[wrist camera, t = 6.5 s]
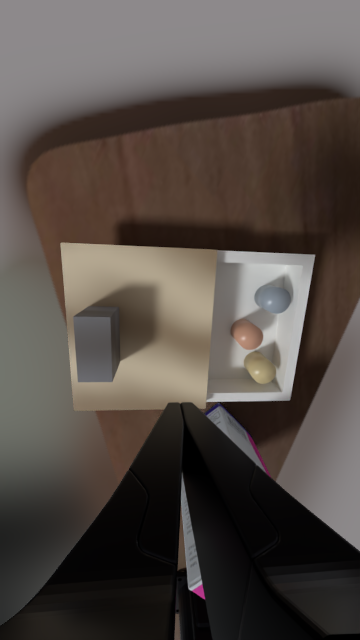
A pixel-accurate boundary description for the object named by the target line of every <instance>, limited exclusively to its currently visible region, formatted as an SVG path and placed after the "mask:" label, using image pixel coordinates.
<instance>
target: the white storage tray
mask: <svg viewBox="0 0 360 640" xmlns="http://www.w3.org/2000/svg"><path fill="white" fill-rule="evenodd" d="M314 259H315V255H309V254H287V253H265V252H242V251H220V250H217V263H216V277H215V290H214V304H213V317H212V330H211V344H210V357H209V370H208V384H207V397H206V402H231V401H290V398H291V392H292V387H293V381H294V375H295V369H296V363H297V358H298V352H299V346H300V340H301V334H302V329H303V323H304V317H305V311H306V305H307V300H308V294H309V288H310V282H311V276H312V271H313V265H314Z"/></svg>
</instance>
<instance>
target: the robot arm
mask: <svg viewBox="0 0 360 640" xmlns="http://www.w3.org/2000/svg"><path fill="white" fill-rule="evenodd" d="M182 474H183V481H184V486H185V492H186V497H187V503H188V508H189V514H190V519H191V525H192V530H193V536H194V541H195V546H196V552H197V557H198V563H199V568H200V574H201V579H202V585H203V590H204V596H205V599H203V598H202V597H200V596H199V595H197V594H196V593H194V592H193V591H191V590H189V588H188V579H187V572H179V573H177V569H178V549H179V528H180V508H181V487H182ZM175 613H176V614H179V621H180V639H181V640H360V551H359V550H358V549H356V548H355V547H354V546H353V545H351V544H350V543H349V542H348V541H346V540H345V539H344V538H342V537H341V536H340V535H339V534H337V533H336V532H335V531H334V530H333V529H332V528H330V527H329V526H328V525H327V524H325V523H324V522H323V521H322V520H320V519H319V518H318V517H317V516H315V515H314V514H313V513H311V512H310V511H309V510H308V509H307V508H306V507H304V506H303V505H302V504H301V503H299V502H298V501H297V500H296V499H295V498H294V497H292V496H291V495H290V494H289V493H288V492H286V491H285V490H284V489H283V488H282V487H281V486H280V485H279V484H277V483H276V482H275V481H274V480H273V479H272V478H271V477H270V476H269V475H268V474H267V473H266V472H264V471H263V470H262V469H261V468H260V467H259V466H258V465H256V463H255V462H254V461H253V460H252V459H251V458H250V457H249V456H248V455H247V454H246V453H245V452H244V451H242V450H241V449H240V448H239V447H238V446H237V445H236V444H235V443H234V442H233V441H232V440H231V439H230V438H229V437H228V436H227V435H226V434H225V433H224V432H223V431H222V430H221V429H220V428H218V427H217V426H216V425H215V424H214V423H213V422H212V421H211V420H210V419H209V418H208V417H207V416H206V415H205V414H204V413H203V412H202V411H201V410H200V409H199V408H198V407H197V406H196V405H195V404H193V403H192V402H181V404H180V403H179V402H169V403H168V404H167V405H166V407H165V409H164V410H163V412H162V414H161V416H160V417H159V419H158V421H157V422H156V424H155V426H154V427H153V429H152V431H151V432H150V434H149V436H148V437H147V439H146V441H145V442H144V444H143V446H142V447H141V449H140V451H139V452H138V454H137V456H136V458H135V459H134V461H133V463H132V464H131V466H130V468H129V470H128V471H127V472H126V474H125V476H124V477H123V479H122V481H121V482H120V484H119V486H118V487H117V489H116V490H115V492H114V493H113V495H112V497H111V498H110V499H109V501H108V502H107V504H106V505H105V506H104V508H103V509H102V510H101V512H100V513H99V515H98V516H97V517H96V519H95V520H94V521H93V523H92V524H91V525H90V526H89V528H88V529H87V530H86V532H85V533H84V534H83V536H82V537H81V538H80V539H79V541H78V542H77V543H76V545H75V546H74V547H73V549H72V550H71V551H70V553H69V554H68V555H67V556H66V558H65V559H64V560H63V562H62V563H61V564H60V565H59V567H58V568H57V569H56V571H55V572H54V573H53V575H52V576H51V577H50V578H49V580H48V581H47V582H46V583H45V585H44V586H43V587H42V588H41V589H40V591H38V593H37V594H36V595H35V596H34V597H33V598H32V599H31V600H30V601H29V602H28V603H27V604H26V605H25V606H24V607H23V608H22V609H21V610H20V611H18V612H17V613H16V614H15V615H14V616H13V617H11V618H10V619H9V620H7V621H6V622H4V623H3V624H2V625H0V640H174V633H175Z"/></svg>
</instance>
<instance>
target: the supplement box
mask: <svg viewBox="0 0 360 640" xmlns="http://www.w3.org/2000/svg"><path fill="white" fill-rule="evenodd" d="M204 414H205V415H206V416H207V417H208V418H209V419H210V420H211V421H212V422H213V423H214V424H215V425H216V426H217V427H218V428H220V429H221V430H222V431H223V432H224V433H225V434H226V435H227V436H228V437H229V438H230V439H231V440H232V441H233V442H234V443H235V444H236V445H237V446H238V447H239V448H240V449H241V450H242V451H244V452H245V453H246V454H247V455H248V456H249V457H250V458H251V459H252V460H253V461H254V462H255V463H256V465H258V466H259V467H260V468H261V469H262V470H263V471H264V472H266V473H267V474H268V475H269V476H270V474H269V472H268V470H267V468H266V466H265V464H264V462H263V460H262V458H261V456H260V454H259V452H258V450H257V448H256V445H255V443H254V441H253V439H252V437H251V435H250V434H249V433H248V432H247V431H246V430H245V429H244V428H243V426H242V425H241V424H240V423H239V422H238V421H237V420H236V419H235V418H234V417H233V416H232V415H231V414H230V413H229V412H228V411H227V410H226V409H225V408H224V407H223V406H222V405H221V404H220V403H217V404H215V405H214V406H213V407H212V408H210V409H209V410H208V411H207V412H205V413H204ZM270 477H271V476H270ZM181 506H182V518H183V530H184V542H185V554H186V566H187V579H188V588H189V590H191V591H193V592H194V593H196V594H197V595H199V596H200V597H202V598H203V599H205V596H204V590H203V585H202V579H201V574H200V568H199V563H198V557H197V552H196V546H195V541H194V536H193V530H192V525H191V519H190V514H189V508H188V503H187V497H186V492H185V486H184V481H183V474H182V487H181Z"/></svg>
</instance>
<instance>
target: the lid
mask: <svg viewBox="0 0 360 640" xmlns="http://www.w3.org/2000/svg"><path fill="white" fill-rule="evenodd" d="M61 255H62V268H63V280H64V293H65V305H66V318H67V330H68V343H69V355H70V366H71V367H70V368H71V380H72V393H73V405H74V411H84V410H85V411H87V410H148V409H165V407H166V405H167V404H168V403H169V402H179V403H180V404H181V402H192V403H193V404H195V405H196V406H197V407H198V408H199V409H206V397H207V384H208V370H209V357H210V344H211V330H212V317H213V304H214V290H215V277H216V263H217V250H212V249H190V248H168V247H145V246H123V245H101V244H79V243H61Z"/></svg>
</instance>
